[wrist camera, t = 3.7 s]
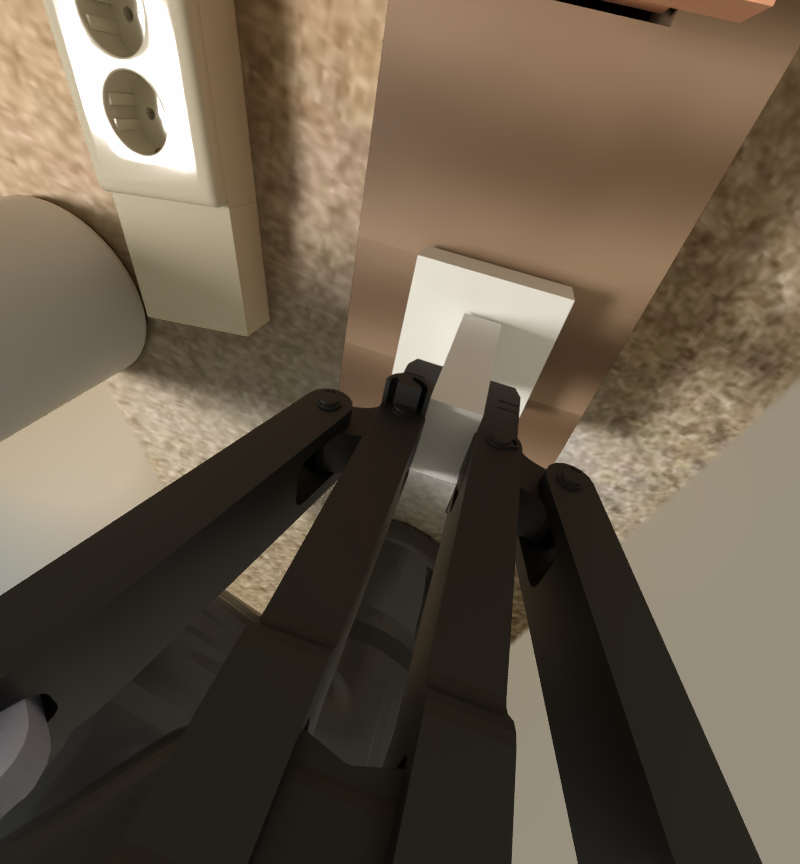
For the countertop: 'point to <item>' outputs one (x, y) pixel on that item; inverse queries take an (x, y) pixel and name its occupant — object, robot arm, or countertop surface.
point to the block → (549, 167)
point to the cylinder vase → (59, 311)
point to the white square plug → (482, 315)
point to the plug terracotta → (704, 7)
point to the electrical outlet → (171, 150)
